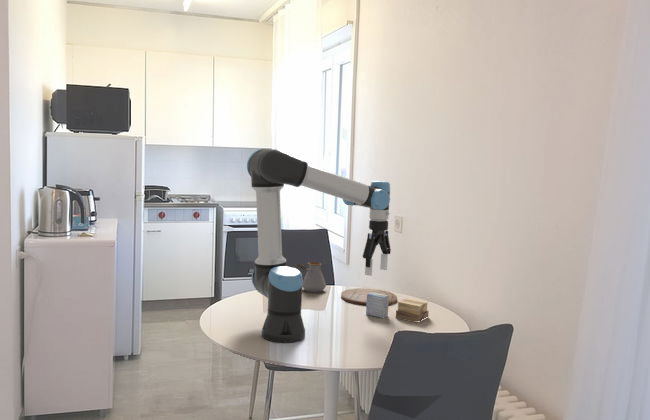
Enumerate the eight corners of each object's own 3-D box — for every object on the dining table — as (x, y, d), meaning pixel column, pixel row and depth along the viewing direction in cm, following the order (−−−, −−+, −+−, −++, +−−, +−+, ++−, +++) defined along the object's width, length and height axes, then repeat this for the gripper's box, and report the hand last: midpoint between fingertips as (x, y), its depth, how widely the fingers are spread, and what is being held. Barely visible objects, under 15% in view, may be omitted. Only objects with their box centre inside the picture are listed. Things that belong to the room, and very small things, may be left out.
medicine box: (388, 316, 229) (389, 295, 228) (383, 318, 225) (384, 297, 224) (370, 312, 233) (371, 291, 232) (365, 314, 229) (366, 293, 228)
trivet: (338, 304, 244) (338, 300, 244) (343, 290, 269) (343, 286, 269) (397, 308, 241) (397, 304, 241) (396, 294, 266) (396, 290, 266)
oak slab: (418, 315, 222) (419, 306, 221) (397, 310, 227) (398, 301, 226) (426, 310, 228) (427, 302, 228) (406, 306, 233) (407, 297, 233)
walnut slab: (418, 324, 221) (419, 315, 221) (395, 318, 227) (396, 310, 227) (428, 319, 229) (428, 310, 229) (405, 314, 234) (406, 305, 234)
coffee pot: (310, 286, 273) (311, 255, 271) (330, 290, 267) (332, 258, 265) (283, 294, 255) (285, 261, 253) (304, 299, 249) (306, 265, 247)
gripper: (373, 223, 214) (370, 279, 216) (400, 218, 235) (397, 268, 237) (355, 221, 218) (353, 276, 220) (384, 216, 239) (381, 266, 241)
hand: (376, 272), depth 228 cm, fingers open, 13 cm apart
